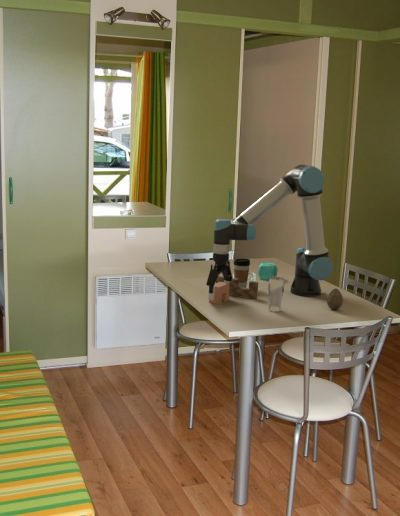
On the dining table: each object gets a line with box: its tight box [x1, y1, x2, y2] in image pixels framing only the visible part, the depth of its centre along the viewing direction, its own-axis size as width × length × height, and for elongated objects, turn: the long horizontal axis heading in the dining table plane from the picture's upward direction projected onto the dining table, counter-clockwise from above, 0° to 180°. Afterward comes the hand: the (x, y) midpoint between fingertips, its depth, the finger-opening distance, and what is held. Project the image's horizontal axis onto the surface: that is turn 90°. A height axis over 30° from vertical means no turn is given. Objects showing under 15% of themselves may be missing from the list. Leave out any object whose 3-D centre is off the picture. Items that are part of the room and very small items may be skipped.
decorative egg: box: [326, 288, 344, 311], centre depth 315 cm, size 7×7×10 cm
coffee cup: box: [233, 258, 251, 288], centre depth 348 cm, size 8×8×15 cm
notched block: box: [208, 282, 230, 305], centre depth 323 cm, size 10×5×8 cm, turn 149°
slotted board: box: [215, 274, 259, 300], centre depth 335 cm, size 22×2×8 cm, turn 59°
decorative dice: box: [257, 262, 279, 281], centre depth 373 cm, size 8×8×8 cm
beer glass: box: [267, 276, 285, 313], centre depth 309 cm, size 7×7×15 cm
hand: (218, 297), depth 323 cm, fingers open, 13 cm apart
